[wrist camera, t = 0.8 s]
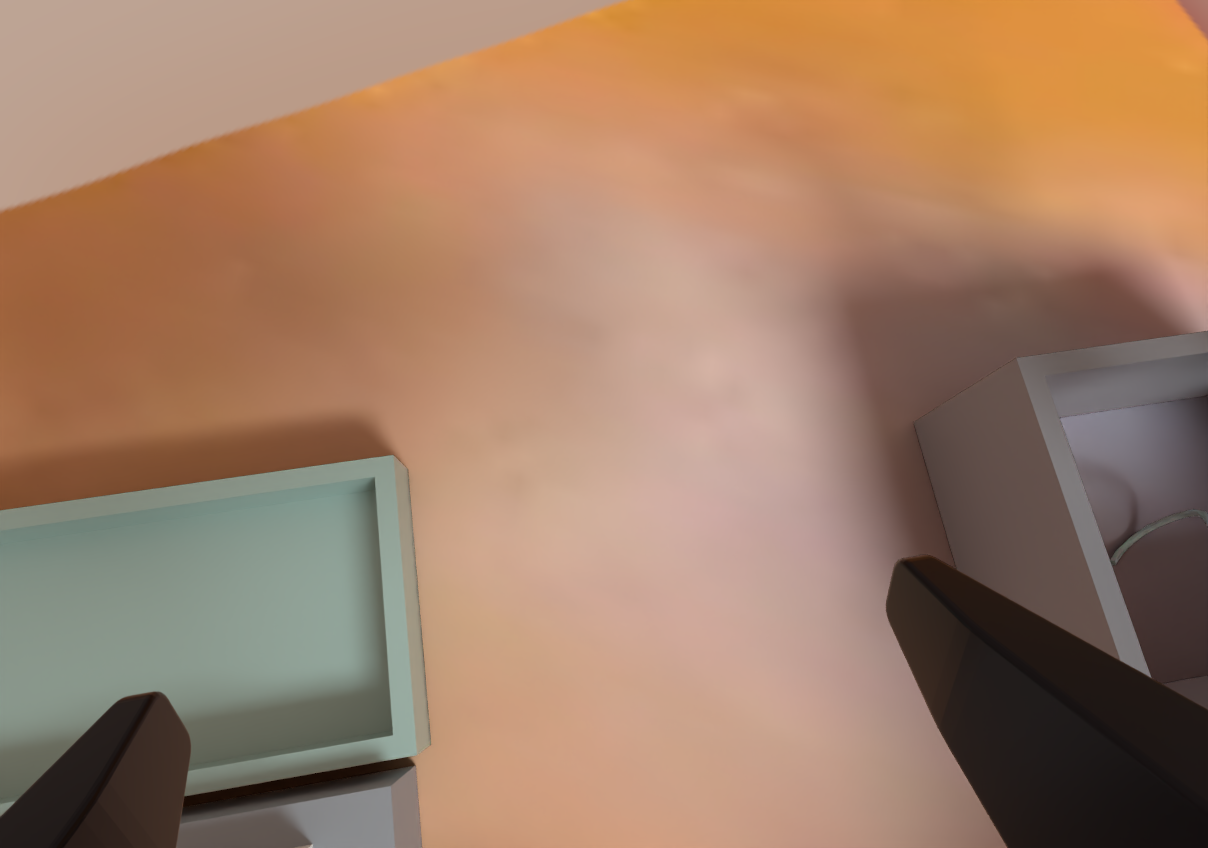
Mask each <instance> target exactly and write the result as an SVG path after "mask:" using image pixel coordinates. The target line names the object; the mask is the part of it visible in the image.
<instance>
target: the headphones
mask: <svg viewBox="0 0 1208 848" xmlns="http://www.w3.org/2000/svg"><path fill="white" fill-rule="evenodd" d="M1192 516H1200V517H1201V518H1202V519H1204V521H1205V523H1206V525H1207V527H1208V513H1207V512H1205V511H1202V510H1196V509H1193V510H1188V511H1184V512H1180V513H1177V514H1173V515H1170V516H1168V517H1165V518H1163V519H1161V520H1158V521H1156V522H1154V523H1151V524H1149V525H1148V526H1146V527H1145V528H1143V529H1141V530H1140V531H1138V532H1137V533H1135V534H1133V535H1132V536H1131V537H1130V538H1129V539H1128V540H1127V541H1126V542H1125V543H1123V544H1122V545H1121V546H1120V547H1119V548H1118V549H1117V550H1116V551H1115V553H1114V555H1113V556H1112V558H1111V559H1110V562H1111V564H1112V565H1114V566H1115V565H1116V564H1117V562H1118V561H1119V559H1120V558H1121V556H1122V554H1123V553H1124V552H1125V551H1126V550H1127V549H1128V548H1129V547H1130V546H1131V545H1132V544H1133V543H1134V542H1136V541H1137V540H1138V539H1140V538H1141V537H1142V536H1144V535H1146V534H1147V533H1149V532H1151V531H1153V530H1154V529H1156V528H1159V527H1161V526H1163V525H1166V524H1168V523H1170V522H1173V521H1176V520H1180V519H1183V518H1186V517H1192Z"/></svg>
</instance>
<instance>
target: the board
mask: <svg viewBox="0 0 1208 848" xmlns="http://www.w3.org/2000/svg"><path fill="white" fill-rule="evenodd" d="M311 844H313V848H422V840H421V827H420V814H419V802H418V789H417V776H416V765H415V766H410V767H404V768H399V769H393V770H387V771H382V772H376V773H371V774H365V775H359V776H354V777H348V778H343V779H337V780H331V781H326V782H320V783H315V784H309V785H303V786H298V787H292V788H287V789H281V790H275V791H270V792H264V793H259V794H253V795H247V796H242V797H236V798H231V799H225V800H219V801H214V802H208V803H203V804H197V805H191V806H186V807H183V808H182V815H181V821H180V828H179V834H178V841H177V847H176V848H295V847H301V846H306V845H311Z"/></svg>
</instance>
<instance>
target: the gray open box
mask: <svg viewBox="0 0 1208 848" xmlns="http://www.w3.org/2000/svg"><path fill="white" fill-rule="evenodd" d="M1202 396H1208V331H1204V332H1197V333H1190V334H1183V335H1176V336H1169V337H1162V338H1154V339H1147V340H1140V341H1133V342H1126V343H1119V344H1112V345H1104V346H1097V347H1090V348H1083V349H1076V350H1069V351H1062V352H1055V353H1047V354H1040V355H1033V356H1026V357H1019V358H1015V359H1014V360H1012V361H1010V362H1009V363H1007V364H1006V365H1004V366H1003V367H1001V368H999V369H998V370H996V371H995V372H993V373H991V374H990V375H988V376H987V377H985V378H983V379H982V380H980V381H979V382H977V383H975V384H974V385H972V386H971V387H969V388H967V389H966V390H964V391H963V392H961V393H959V394H958V395H956V396H955V397H953V398H951V399H950V400H948V401H947V402H945V403H943V404H942V405H940V406H939V407H937V408H935V409H934V410H932V411H931V412H929V413H928V414H926V415H924V416H923V417H921V418H920V419H918V420H916V421H915V422H914V426H915V429H916V433H917V436H918V439H919V443H920V446H921V450H922V453H923V456H924V460H925V463H926V467H927V470H928V473H929V477H930V480H931V484H932V487H933V491H934V494H935V497H936V501H937V504H938V508H939V511H940V514H941V518H942V521H943V525H944V528H945V531H946V535H947V538H948V542H949V545H950V548H951V552H952V555H953V559H954V562H955V566H956V569H957V570H959V571H960V572H962V573H964V574H966V575H968V576H969V577H971V578H973V579H975V580H977V581H978V582H980V583H982V584H984V585H985V586H987V587H989V588H991V589H993V590H994V591H996V592H998V593H1000V594H1002V595H1003V596H1005V597H1007V598H1009V599H1011V600H1012V601H1014V602H1016V603H1018V604H1020V605H1021V606H1023V607H1025V608H1027V609H1029V610H1030V611H1032V612H1034V613H1036V614H1038V615H1039V616H1041V617H1043V618H1045V619H1047V620H1048V621H1050V622H1052V623H1054V624H1056V625H1057V626H1059V627H1061V628H1063V629H1065V630H1066V631H1068V632H1070V633H1072V634H1074V635H1075V636H1077V637H1079V638H1081V639H1083V640H1084V641H1086V642H1088V643H1090V644H1092V645H1093V646H1095V647H1097V648H1099V649H1101V650H1102V651H1104V652H1106V653H1108V654H1110V655H1111V656H1113V657H1115V658H1117V659H1119V660H1120V661H1122V662H1124V663H1126V664H1128V665H1129V666H1131V667H1133V668H1135V669H1137V670H1138V671H1140V672H1142V673H1144V674H1146V675H1147V676H1149V677H1151V675H1150V672H1149V669H1148V667H1147V664H1146V661H1145V658H1144V655H1143V652H1142V650H1141V647H1140V644H1139V641H1138V638H1137V636H1136V633H1135V630H1134V627H1133V624H1132V621H1131V619H1130V616H1129V613H1128V610H1127V607H1126V604H1125V602H1124V599H1123V596H1122V593H1121V590H1120V587H1119V585H1118V582H1117V579H1116V576H1115V573H1114V571H1113V568H1112V565H1111V562H1110V559H1109V556H1108V554H1107V551H1106V548H1105V545H1104V542H1103V539H1102V537H1101V534H1100V531H1099V528H1098V525H1097V523H1096V520H1095V517H1094V514H1093V511H1092V508H1091V506H1090V503H1089V500H1088V497H1087V494H1086V491H1085V489H1084V486H1083V483H1082V480H1081V477H1080V474H1079V472H1078V469H1077V466H1076V463H1075V460H1074V458H1073V455H1072V452H1071V449H1070V446H1069V443H1068V441H1067V438H1066V435H1065V432H1064V429H1063V426H1062V424H1061V421H1060V418H1061V417H1067V416H1074V415H1081V414H1088V413H1094V412H1101V411H1108V410H1115V409H1121V408H1128V407H1135V406H1141V405H1148V404H1155V403H1162V402H1168V401H1175V400H1182V399H1188V398H1195V397H1202ZM1163 685H1165V686H1167V687H1169V688H1171V689H1172V690H1174V691H1176V692H1178V693H1180V694H1181V695H1183V696H1185V697H1187V698H1189V699H1190V700H1192V701H1194V702H1196V703H1198V704H1199V705H1201V706H1203V707H1205V708H1207V709H1208V675H1207V676H1202V677H1196V678H1191V679H1185V680H1180V681H1175V682H1169V683H1164V684H1163Z"/></svg>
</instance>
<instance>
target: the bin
mask: <svg viewBox="0 0 1208 848" xmlns="http://www.w3.org/2000/svg"><path fill="white" fill-rule="evenodd" d="M153 691H159V692H161V693H163V694H165V695H166V696H167V698H168V699H169V701H170V703H171V704H172V706H173V707H174V709H175V711H176V712H177V714H178V716H179V717H180V719H181V721H182V722H183V724H184V726H185V727H186V729H187V731H188V733H189V736H190V740H191V757H190V763H189V770H188V776H187V783H186V789H185V795H184V796H189V795H195V794H201V793H206V792H212V791H218V790H223V789H229V788H235V787H240V786H246V785H251V784H257V783H263V782H268V781H274V780H280V779H285V778H291V777H297V776H302V775H308V774H314V773H319V772H325V771H330V770H336V769H342V768H347V767H353V766H359V765H364V764H370V763H376V762H381V761H387V760H392V759H398V758H404V757H409V756H415V755H418V754H419V753H421V752H422V751H423V750H424V749H426V748H427V747H428V746H430V745H431V737H430V725H429V713H428V701H427V689H426V677H425V665H424V654H423V642H422V630H421V618H420V606H419V594H418V582H417V571H416V559H415V547H414V535H413V523H412V511H411V499H410V488H409V476H408V469H407V468H406V467H405V466H404V465H403V464H402V463H401V462H400V461H399V460H398V459H397V458H396V457H395V456H394V455H389V456H382V457H375V458H368V459H361V460H354V461H346V462H339V463H332V464H325V465H318V466H311V467H304V468H297V469H290V470H283V471H276V472H269V473H262V474H254V475H247V476H240V477H233V478H226V479H219V480H212V481H205V482H198V483H191V484H184V485H177V486H170V487H163V488H155V489H148V490H141V491H134V492H127V493H120V494H113V495H106V496H99V497H92V498H85V499H78V500H71V501H64V502H56V503H49V504H42V505H35V506H28V507H21V508H14V509H7V510H0V816H1V815H2V814H3V813H4V812H5V811H6V810H7V809H8V808H9V807H10V806H11V805H12V804H13V803H14V802H15V801H16V800H17V799H18V798H19V797H20V796H21V795H22V794H23V793H24V792H25V791H26V790H27V789H28V788H29V787H30V786H31V785H32V784H33V783H34V782H35V781H36V780H37V779H38V778H40V777H41V776H42V775H43V774H44V773H45V772H46V771H47V770H48V769H49V768H50V767H51V766H52V765H53V764H54V763H55V762H56V761H57V760H58V759H59V758H60V757H61V756H62V755H63V754H64V753H65V752H66V751H67V750H68V749H69V748H70V747H71V746H72V745H73V744H74V743H75V742H76V741H77V740H78V739H79V738H80V737H81V736H82V735H83V734H84V733H85V732H86V731H87V730H88V729H89V728H90V727H91V726H92V725H93V724H94V723H95V722H96V721H97V720H98V719H99V718H100V717H101V716H102V715H103V714H104V713H105V712H106V711H107V710H108V709H109V708H110V707H111V706H112V705H113V704H114V703H115V702H117V701H118V700H120V699H121V698H123V697H126V696H131V695H136V694H142V693H147V692H153Z"/></svg>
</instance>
